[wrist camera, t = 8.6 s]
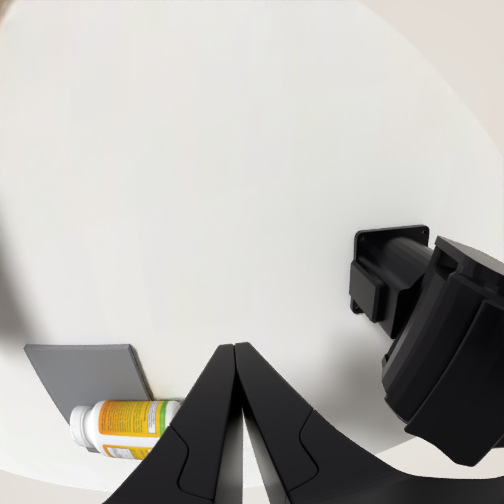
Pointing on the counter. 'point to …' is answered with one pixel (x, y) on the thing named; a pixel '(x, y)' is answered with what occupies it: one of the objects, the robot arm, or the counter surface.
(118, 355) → the charcoal mat
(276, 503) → the robot arm
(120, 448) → the supplement bottle
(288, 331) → the counter surface
